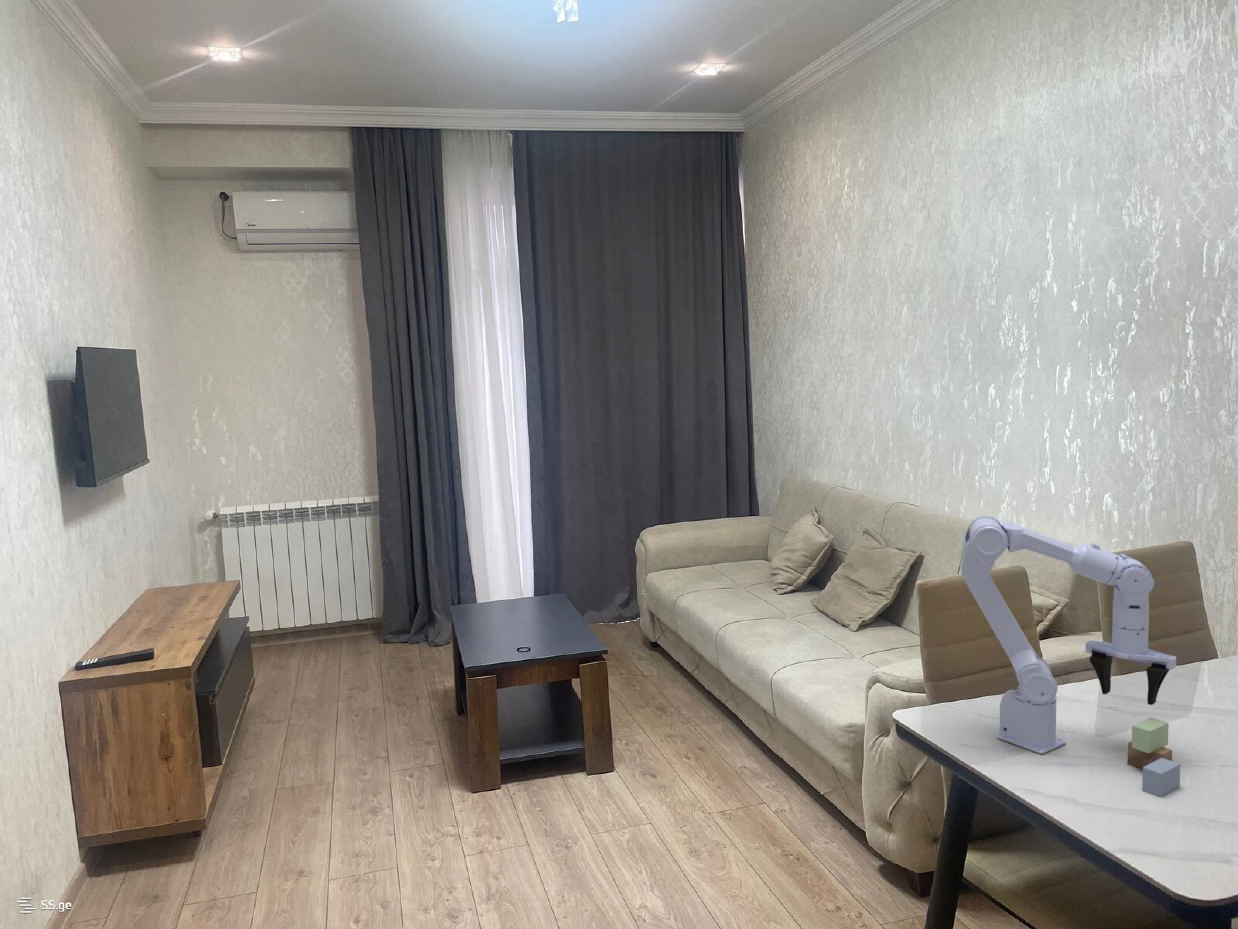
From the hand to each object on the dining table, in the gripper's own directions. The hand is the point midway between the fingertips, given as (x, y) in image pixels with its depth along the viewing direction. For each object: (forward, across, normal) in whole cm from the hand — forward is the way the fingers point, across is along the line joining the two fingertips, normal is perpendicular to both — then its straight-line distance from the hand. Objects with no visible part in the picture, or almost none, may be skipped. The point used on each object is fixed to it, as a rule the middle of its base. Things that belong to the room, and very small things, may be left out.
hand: (1128, 697), depth 164 cm
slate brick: (+10, +9, -12) cm, 18 cm away
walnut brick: (+10, +5, -5) cm, 12 cm away
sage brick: (+6, +5, -5) cm, 9 cm away
